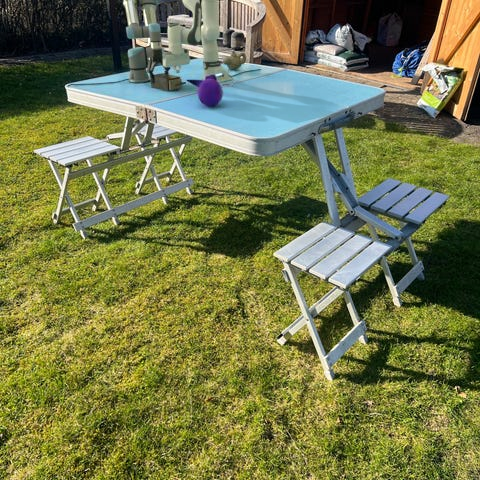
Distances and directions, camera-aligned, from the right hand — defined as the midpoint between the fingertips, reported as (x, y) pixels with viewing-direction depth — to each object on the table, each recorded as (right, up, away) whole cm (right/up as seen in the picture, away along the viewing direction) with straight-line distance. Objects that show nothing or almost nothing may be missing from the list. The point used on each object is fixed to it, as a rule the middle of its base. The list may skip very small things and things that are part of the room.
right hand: (177, 72), depth 301 cm
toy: (+22, -29, -27) cm, 45 cm away
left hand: (-15, 0, +18) cm, 23 cm away
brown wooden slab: (-10, -5, +15) cm, 19 cm away
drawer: (-6, -6, +11) cm, 14 cm away
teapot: (+38, +29, +71) cm, 85 cm away
